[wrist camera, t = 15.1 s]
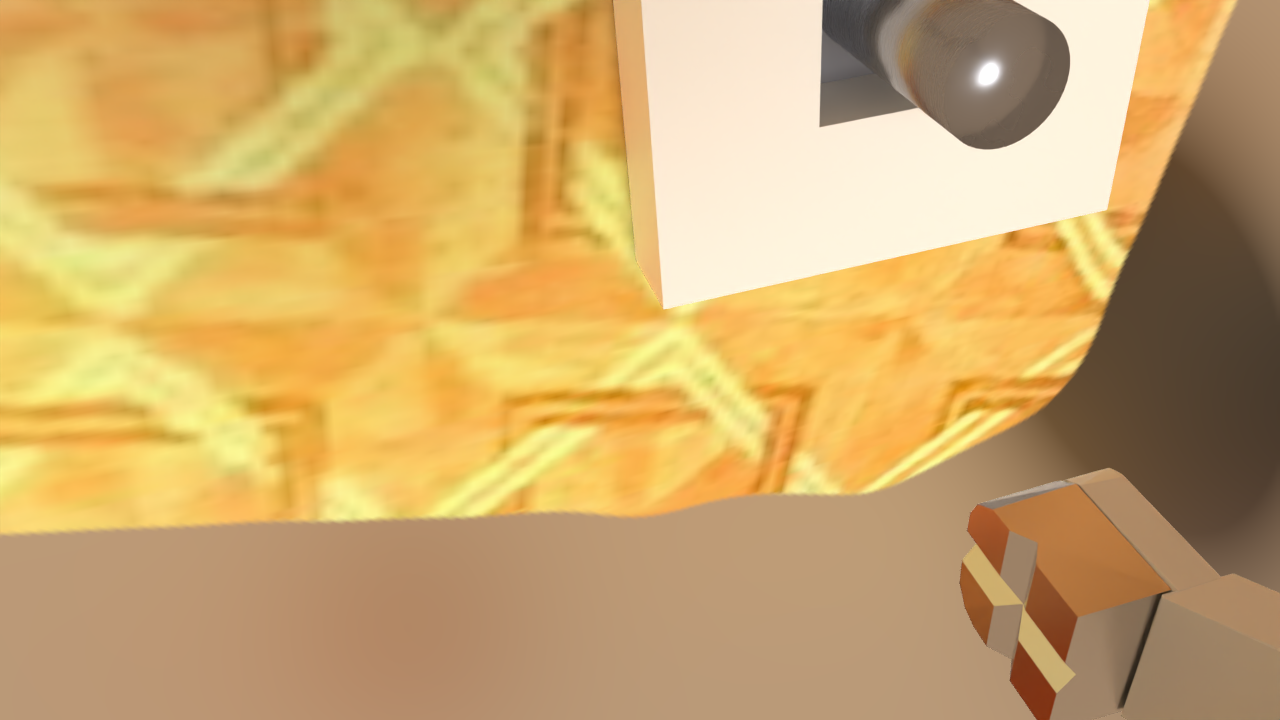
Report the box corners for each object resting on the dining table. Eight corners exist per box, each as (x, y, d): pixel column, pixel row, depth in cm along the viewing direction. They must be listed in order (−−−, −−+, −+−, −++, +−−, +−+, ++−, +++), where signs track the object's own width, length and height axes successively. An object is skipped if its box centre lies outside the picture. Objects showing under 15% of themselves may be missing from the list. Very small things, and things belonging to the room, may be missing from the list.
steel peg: (816, -60, 41) (951, 27, 33) (924, -77, 42) (1081, 4, 34) (813, 55, 43) (937, 160, 36) (915, 37, 44) (1058, 136, 36)
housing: (588, -278, 35) (621, -264, 32) (1139, -345, 39) (1218, -338, 35) (635, 260, 47) (663, 309, 44) (1053, 170, 50) (1107, 209, 47)
